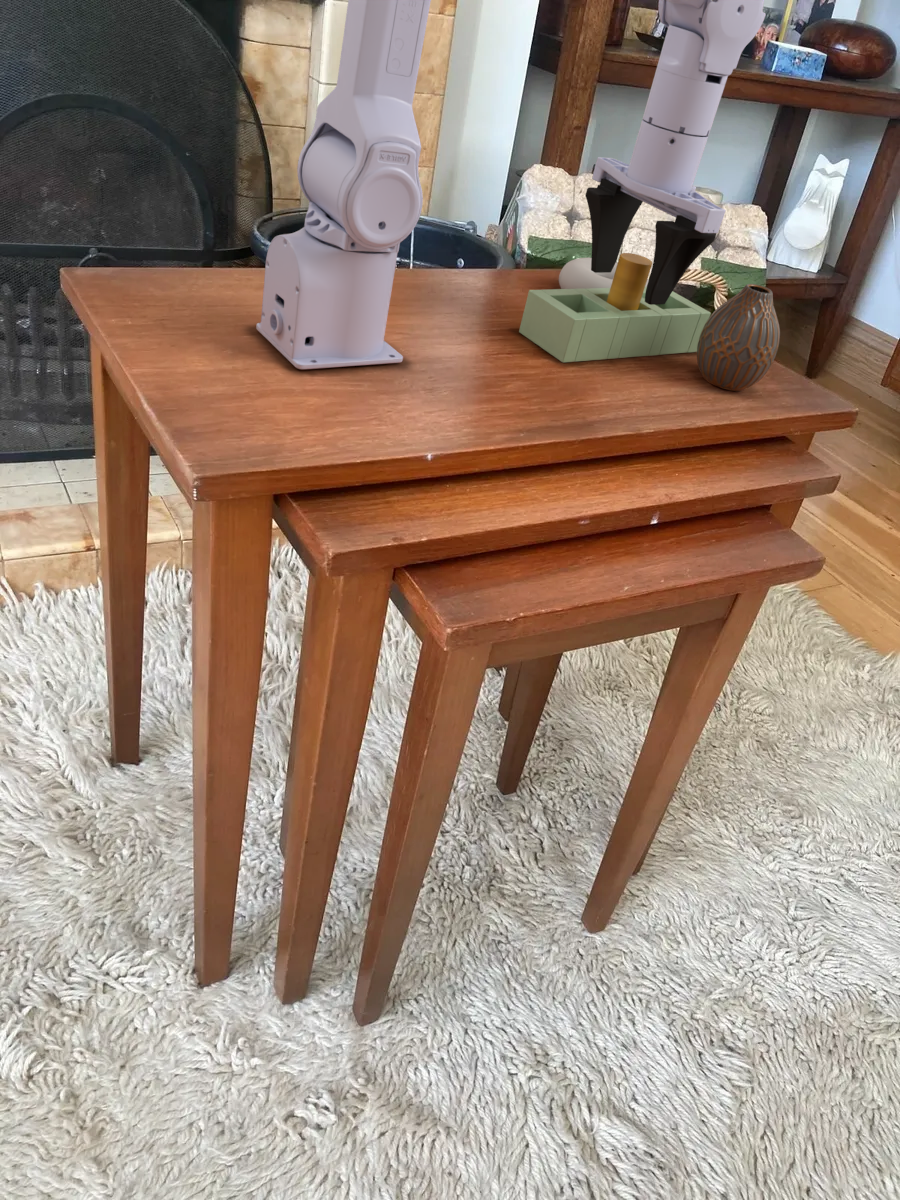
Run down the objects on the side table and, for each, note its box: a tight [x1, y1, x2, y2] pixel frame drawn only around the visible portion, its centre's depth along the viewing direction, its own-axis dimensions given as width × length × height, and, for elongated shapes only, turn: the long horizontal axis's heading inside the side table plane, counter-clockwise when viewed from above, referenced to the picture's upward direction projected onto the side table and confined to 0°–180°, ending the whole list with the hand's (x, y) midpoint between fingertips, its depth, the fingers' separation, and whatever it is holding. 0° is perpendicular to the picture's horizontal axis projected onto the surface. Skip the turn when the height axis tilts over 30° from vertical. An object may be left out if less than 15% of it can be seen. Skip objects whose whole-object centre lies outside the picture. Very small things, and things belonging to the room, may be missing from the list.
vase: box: [696, 283, 781, 392], centre depth 87 cm, size 7×7×9 cm
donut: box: [558, 257, 649, 289], centre depth 100 cm, size 10×4×10 cm
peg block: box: [518, 287, 712, 364], centre depth 91 cm, size 17×7×4 cm, turn 123°
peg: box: [606, 252, 653, 311], centre depth 90 cm, size 3×3×8 cm
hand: (627, 286), depth 89 cm, fingers open, 7 cm apart
